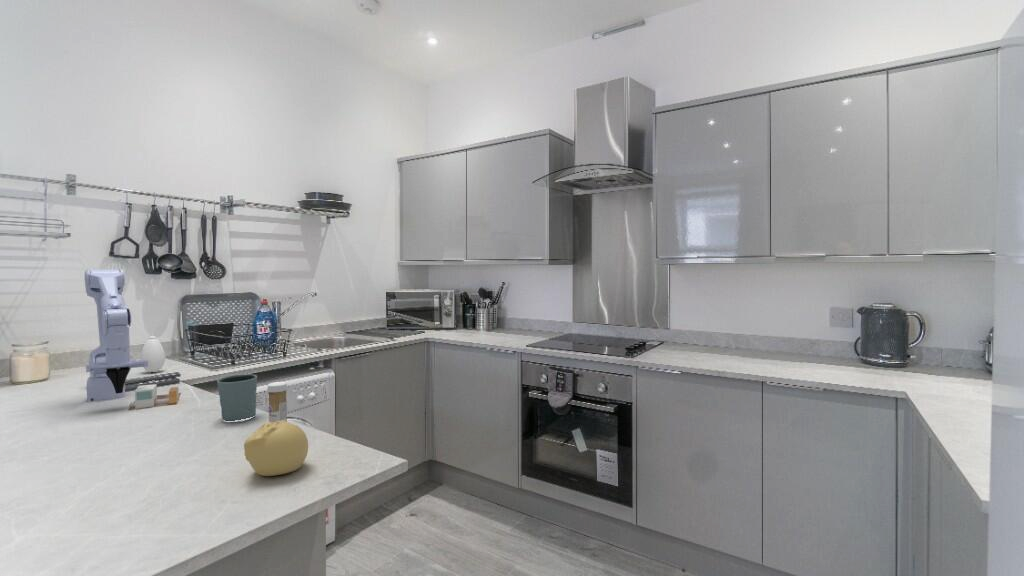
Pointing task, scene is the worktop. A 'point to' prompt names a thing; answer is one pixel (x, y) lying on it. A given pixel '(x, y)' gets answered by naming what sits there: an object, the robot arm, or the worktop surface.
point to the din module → (145, 396)
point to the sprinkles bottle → (277, 401)
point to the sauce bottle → (153, 354)
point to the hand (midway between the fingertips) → (119, 392)
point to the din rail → (171, 400)
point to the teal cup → (237, 396)
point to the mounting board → (160, 404)
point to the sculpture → (276, 448)
